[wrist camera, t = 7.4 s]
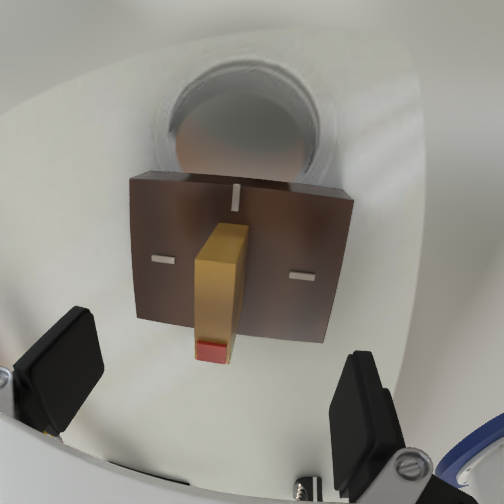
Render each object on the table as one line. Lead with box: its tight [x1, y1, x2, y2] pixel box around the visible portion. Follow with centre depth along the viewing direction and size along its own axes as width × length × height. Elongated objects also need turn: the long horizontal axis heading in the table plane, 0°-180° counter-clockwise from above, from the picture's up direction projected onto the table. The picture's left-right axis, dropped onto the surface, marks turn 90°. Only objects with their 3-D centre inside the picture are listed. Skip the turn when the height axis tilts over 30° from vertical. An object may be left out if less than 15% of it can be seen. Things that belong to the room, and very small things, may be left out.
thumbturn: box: [194, 223, 249, 364], centre depth 15 cm, size 5×2×5 cm, turn 175°
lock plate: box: [129, 171, 354, 343], centre depth 19 cm, size 12×9×3 cm
